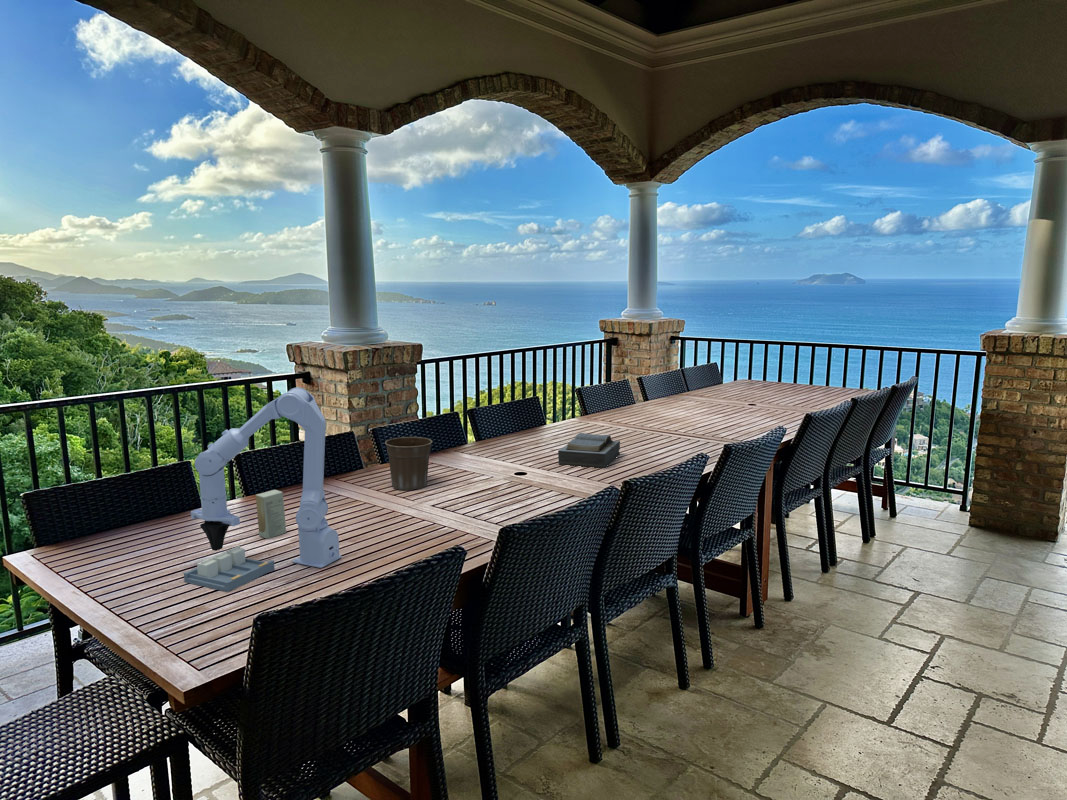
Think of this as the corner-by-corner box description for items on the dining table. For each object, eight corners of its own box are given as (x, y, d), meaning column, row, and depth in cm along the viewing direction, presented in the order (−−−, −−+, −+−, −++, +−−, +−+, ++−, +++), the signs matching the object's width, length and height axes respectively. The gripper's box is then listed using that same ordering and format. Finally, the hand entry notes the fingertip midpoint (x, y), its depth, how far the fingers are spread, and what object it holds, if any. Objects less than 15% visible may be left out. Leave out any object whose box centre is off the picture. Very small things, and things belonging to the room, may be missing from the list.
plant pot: (438, 480, 253) (437, 436, 251) (427, 493, 237) (425, 446, 235) (394, 479, 255) (392, 436, 252) (380, 492, 239) (378, 446, 236)
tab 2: (232, 568, 171) (231, 552, 171) (221, 573, 168) (220, 556, 168) (223, 566, 172) (222, 550, 172) (212, 571, 170) (211, 555, 169)
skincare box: (278, 529, 202) (275, 488, 200) (286, 533, 199) (284, 491, 197) (257, 536, 197) (254, 493, 195) (265, 539, 194) (263, 496, 192)
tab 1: (218, 574, 167) (217, 558, 167) (207, 579, 165) (205, 563, 164) (209, 572, 169) (207, 556, 168) (198, 577, 166) (196, 561, 165)
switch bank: (274, 569, 173) (273, 560, 173) (227, 592, 160) (227, 582, 160) (232, 560, 179) (231, 551, 178) (184, 581, 166) (183, 572, 165)
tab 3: (245, 562, 175) (244, 546, 174) (235, 566, 172) (234, 550, 171) (236, 560, 176) (235, 544, 176) (226, 564, 173) (225, 549, 173)
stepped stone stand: (630, 457, 288) (630, 434, 286) (600, 472, 265) (601, 446, 264) (580, 451, 300) (580, 428, 298) (548, 464, 277) (548, 440, 276)
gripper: (247, 496, 175) (251, 548, 177) (205, 489, 181) (209, 539, 183) (225, 503, 168) (228, 557, 170) (182, 496, 174) (186, 548, 176)
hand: (217, 549), depth 176 cm, fingers closed
